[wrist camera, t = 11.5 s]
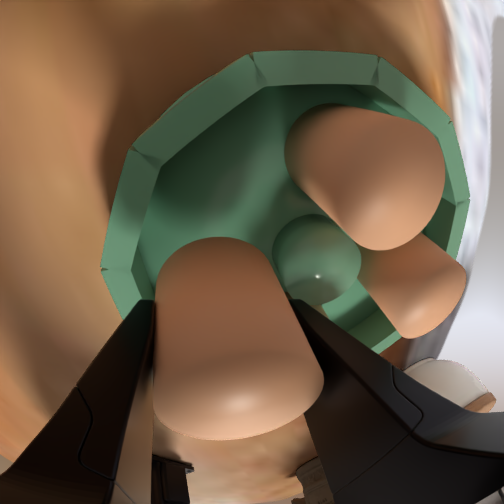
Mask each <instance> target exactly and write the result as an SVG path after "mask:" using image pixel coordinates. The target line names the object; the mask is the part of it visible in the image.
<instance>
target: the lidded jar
mask: <svg viewBox="0 0 504 504" xmlns="http://www.w3.org/2000/svg"><path fill="white" fill-rule="evenodd" d="M403 372H404V373H406V374H407V375H409V376H410V377H412V378H413V379H415V380H416V381H418V382H419V383H421V384H423V385H424V386H426V387H428V388H429V389H431V390H433V391H434V392H436V393H438V394H440V395H441V396H443V397H445V398H447V399H448V400H450V401H452V402H454V403H455V404H457V405H459V406H461V407H463V408H465V409H467V410H470V411H473V412H479V413H488V412H489V411H490V410H491V409H492V407H493V406H494V404H495V403H496V399H495V397H494V396H493V394H492V393H489V392H488V390H487V389H486V387H485V386H484V384H483V383H482V382H481V381H480V379H479V378H478V377H476V375H475V374H474V373H472V372H471V371H470V370H469V369H468V368H466V367H465V366H463V365H461V364H459V363H457V362H453V361H449V360H435V359H434V358H426V359H423V360H421V361H419V362H417V363H415V364H413V365H412V366H410V367H409V368H407V369H406V370H404V371H403Z"/></svg>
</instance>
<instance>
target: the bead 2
mask: <svg viewBox="0 0 504 504" xmlns="http://www.w3.org/2000/svg"><path fill="white" fill-rule="evenodd" d="M284 157H285V164H286V168H287V170H288V173H289V175H290V177H291V178H292V180H293V181H294V183H295V184H296V185H297V186H298V187H299V188H300V189H301V190H302V191H304V192H305V193H306V194H307V195H308V196H309V197H310V198H311V199H312V200H313V201H314V202H315V203H316V204H317V205H318V206H319V207H320V208H321V209H323V210H324V211H325V212H326V213H327V214H328V215H329V216H330V217H331V218H332V219H333V220H334V221H335V222H336V223H337V224H338V225H339V226H340V227H341V228H342V229H343V230H344V231H345V232H346V233H347V234H348V235H349V236H350V237H351V238H352V239H353V240H354V241H355V242H356V243H358V244H359V245H361V246H363V247H365V248H368V249H371V250H389V249H393V248H396V247H399V246H401V245H403V244H405V243H407V242H408V241H410V240H411V239H412V238H414V237H415V236H416V235H417V234H418V233H420V232H421V231H422V230H423V228H424V227H425V226H426V225H427V224H428V222H429V221H430V220H431V218H432V216H433V215H434V213H435V211H436V209H437V207H438V205H439V202H440V200H441V197H442V193H443V189H444V184H445V162H444V157H443V153H442V150H441V148H440V145H439V143H438V141H437V140H436V138H435V137H434V135H433V134H432V133H431V132H430V131H429V130H428V129H427V128H425V127H424V126H423V125H421V124H419V123H417V122H414V121H411V120H407V119H404V118H400V117H396V116H392V115H388V114H384V113H380V112H376V111H372V110H367V109H362V108H358V107H353V106H348V105H342V104H337V103H325V104H320V105H317V106H314V107H312V108H310V109H308V110H307V111H305V112H304V113H303V114H302V115H300V116H299V118H298V119H297V120H296V121H295V122H294V124H293V125H292V127H291V129H290V130H289V133H288V135H287V138H286V142H285V149H284Z"/></svg>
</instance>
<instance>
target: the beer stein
mask: <svg viewBox="0 0 504 504" xmlns="http://www.w3.org/2000/svg"><path fill="white" fill-rule="evenodd" d="M296 476H297V478H298V480H299V481H300V482H301V483H302V486H303V493H304V498H301V499H299V498H296V499H293V500H292V501H291V502H292V504H335V503H334V500H333V497H332V495H333V494H331V491H330V488H329V485H328V482H327V479H326V476H325V474H324V471H323V468H322V465H321V462H320V459H319V457H317V458H315V459H313V460H311V461H309V462H307V463H305V464H304V465H303V466H301V467H300V468H299V469H298V470H297V471H296Z"/></svg>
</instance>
